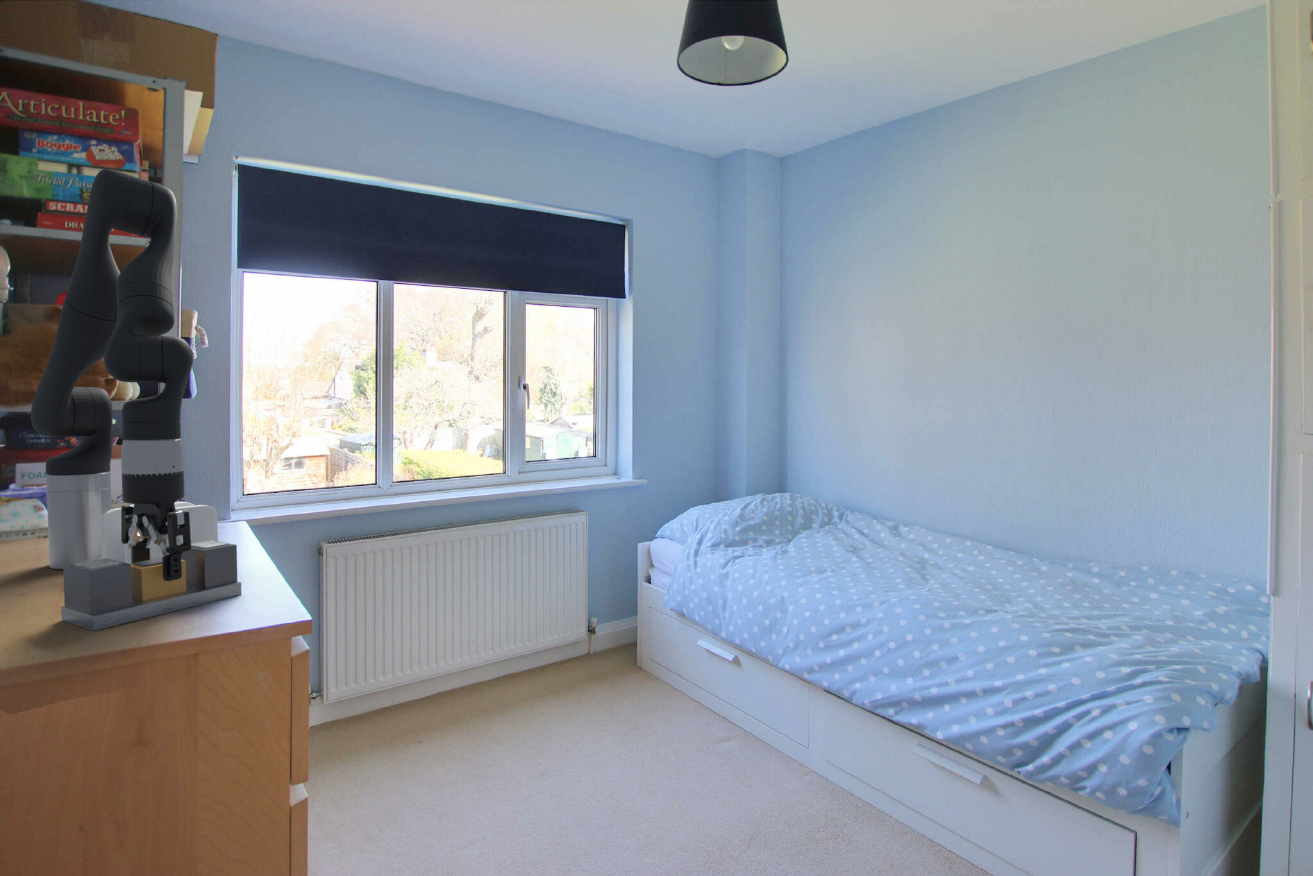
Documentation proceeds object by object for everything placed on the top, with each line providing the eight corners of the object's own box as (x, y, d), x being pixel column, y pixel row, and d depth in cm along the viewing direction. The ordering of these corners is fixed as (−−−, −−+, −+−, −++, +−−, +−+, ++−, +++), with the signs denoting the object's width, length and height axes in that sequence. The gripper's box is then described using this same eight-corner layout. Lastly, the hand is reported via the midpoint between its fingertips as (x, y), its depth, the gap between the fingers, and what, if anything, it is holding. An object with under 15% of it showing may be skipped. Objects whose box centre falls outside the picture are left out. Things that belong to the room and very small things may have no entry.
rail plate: (61, 620, 97) (59, 563, 96) (208, 586, 115) (207, 538, 114) (94, 631, 93) (92, 571, 92) (241, 594, 111) (240, 544, 110)
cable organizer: (122, 582, 117) (120, 514, 117) (101, 572, 123) (99, 508, 123) (219, 565, 130) (217, 504, 129) (195, 557, 136) (193, 499, 135)
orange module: (169, 586, 107) (168, 555, 107) (186, 590, 105) (185, 558, 105) (125, 596, 102) (124, 563, 102) (142, 600, 100) (141, 566, 100)
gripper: (207, 470, 103) (210, 576, 104) (154, 464, 109) (157, 565, 110) (151, 474, 96) (154, 588, 97) (99, 468, 102) (102, 575, 103)
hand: (156, 576), depth 103 cm, fingers open, 8 cm apart
